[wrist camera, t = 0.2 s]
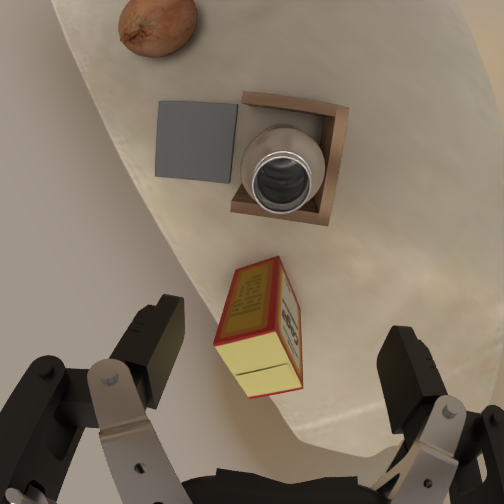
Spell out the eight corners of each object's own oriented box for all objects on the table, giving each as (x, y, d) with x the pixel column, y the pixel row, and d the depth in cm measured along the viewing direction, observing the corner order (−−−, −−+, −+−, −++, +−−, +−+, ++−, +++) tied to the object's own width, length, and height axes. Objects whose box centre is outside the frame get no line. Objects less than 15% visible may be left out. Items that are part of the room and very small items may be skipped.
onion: (171, 58, 34) (128, 82, 28) (136, 12, 29) (86, 28, 23) (225, 22, 29) (187, 35, 22) (185, -29, 23) (137, -27, 17)
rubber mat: (161, 101, 34) (159, 101, 33) (238, 104, 34) (237, 104, 33) (157, 175, 38) (154, 176, 38) (230, 182, 38) (229, 183, 37)
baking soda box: (235, 269, 43) (212, 346, 29) (278, 255, 42) (274, 331, 27) (260, 319, 47) (249, 401, 32) (300, 308, 45) (303, 391, 31)
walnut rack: (251, 96, 33) (243, 91, 26) (335, 109, 33) (349, 107, 25) (240, 192, 38) (230, 211, 31) (319, 204, 38) (327, 226, 31)
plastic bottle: (244, 152, 36) (204, 192, 18) (280, 112, 34) (278, 107, 16) (283, 186, 38) (282, 257, 20) (320, 148, 35) (359, 182, 17)
